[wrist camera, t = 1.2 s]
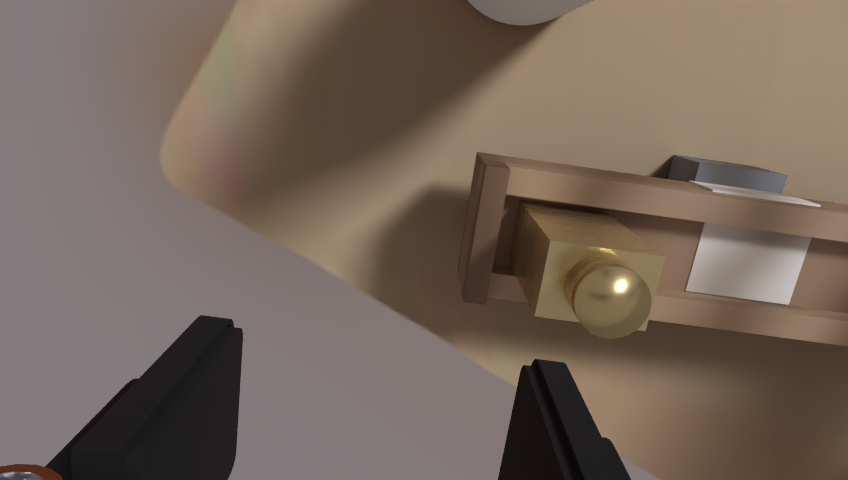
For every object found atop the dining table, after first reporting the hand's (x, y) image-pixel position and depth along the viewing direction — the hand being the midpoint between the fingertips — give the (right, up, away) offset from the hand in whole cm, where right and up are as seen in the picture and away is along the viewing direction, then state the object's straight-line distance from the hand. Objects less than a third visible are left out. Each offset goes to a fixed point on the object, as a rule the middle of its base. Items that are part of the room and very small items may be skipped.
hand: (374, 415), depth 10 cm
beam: (+16, +4, +21) cm, 27 cm away
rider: (+7, +3, +15) cm, 17 cm away
